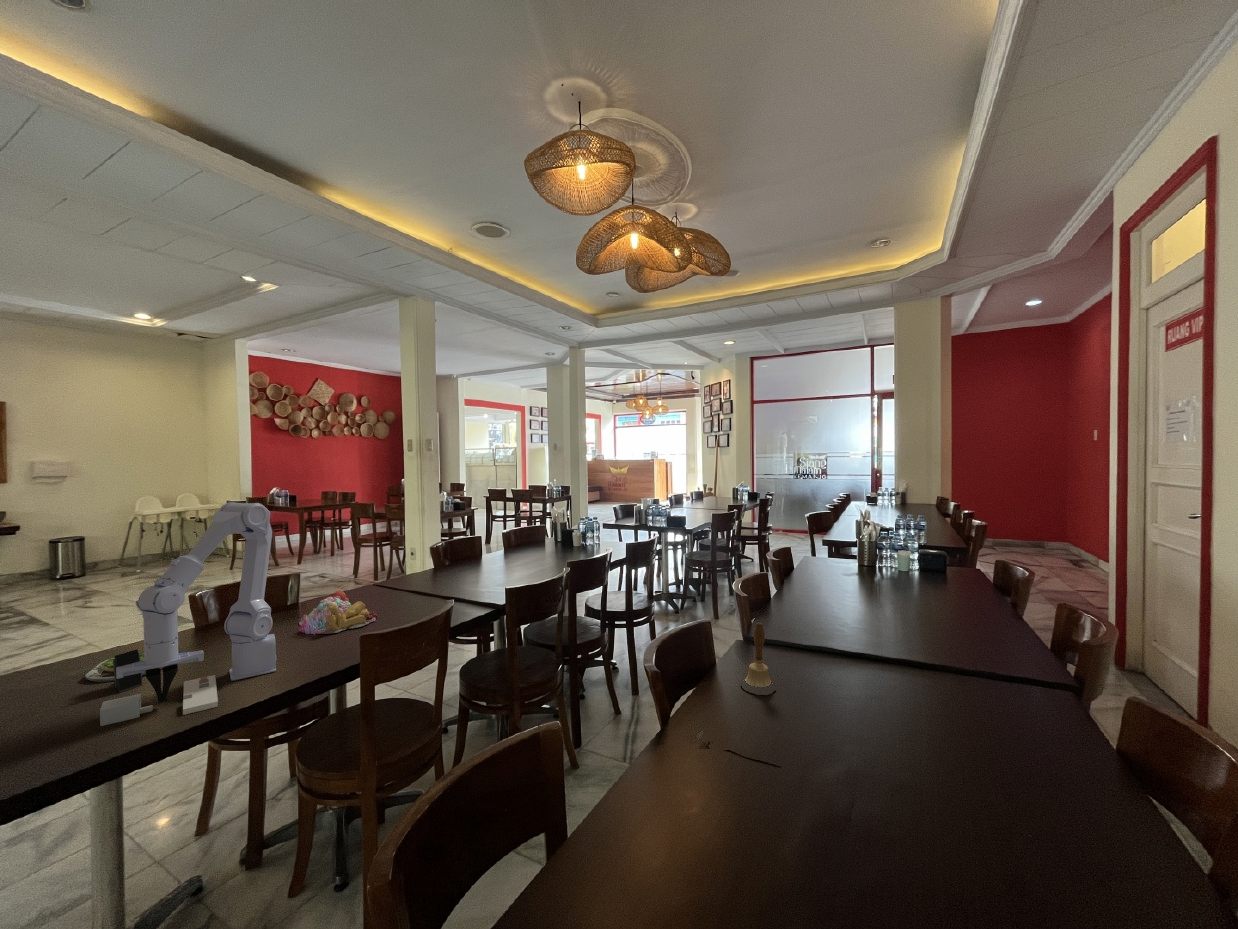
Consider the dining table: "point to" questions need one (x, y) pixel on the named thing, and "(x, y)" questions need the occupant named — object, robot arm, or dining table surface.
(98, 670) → the salad plate
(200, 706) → the power strip
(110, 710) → the charger
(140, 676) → the speaker
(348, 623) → the candy landscape model
